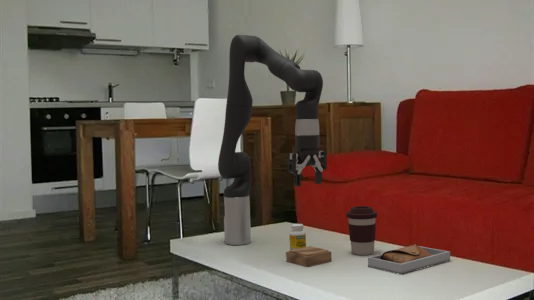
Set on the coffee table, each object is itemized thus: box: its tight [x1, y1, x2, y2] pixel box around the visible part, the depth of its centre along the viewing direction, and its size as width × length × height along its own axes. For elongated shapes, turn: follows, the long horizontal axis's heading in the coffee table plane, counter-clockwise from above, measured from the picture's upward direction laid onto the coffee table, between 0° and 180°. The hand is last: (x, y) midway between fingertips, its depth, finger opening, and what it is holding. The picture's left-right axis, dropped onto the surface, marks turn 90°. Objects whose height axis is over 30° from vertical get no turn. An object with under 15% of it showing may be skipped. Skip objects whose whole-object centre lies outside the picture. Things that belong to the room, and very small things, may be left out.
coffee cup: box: [346, 205, 378, 256], centre depth 196 cm, size 10×10×15 cm
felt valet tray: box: [367, 245, 451, 275], centre depth 180 cm, size 13×23×3 cm, turn 128°
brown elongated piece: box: [380, 243, 432, 264], centre depth 180 cm, size 18×7×7 cm
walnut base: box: [285, 245, 333, 268], centre depth 187 cm, size 10×10×4 cm
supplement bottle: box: [289, 223, 307, 250], centre depth 199 cm, size 5×5×10 cm
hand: (308, 184), depth 189 cm, fingers open, 8 cm apart
